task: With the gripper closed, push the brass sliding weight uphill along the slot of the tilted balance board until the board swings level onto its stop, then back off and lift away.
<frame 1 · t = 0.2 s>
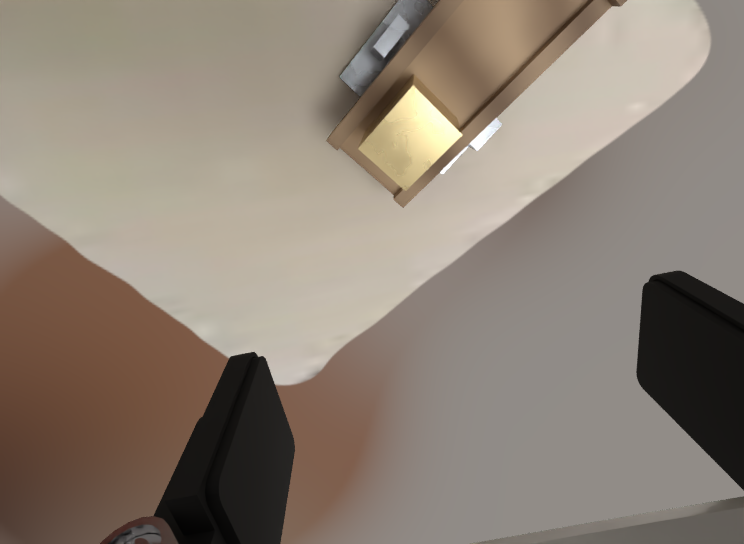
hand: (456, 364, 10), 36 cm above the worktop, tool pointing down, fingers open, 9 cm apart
pivot stand: (426, 87, 41), on the worktop
balance board: (459, 73, 32), point 9 cm above the worktop, hinge at -12.7°, touching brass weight
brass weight: (410, 124, 35), point 8 cm above the worktop, tilted 13°, touching balance board
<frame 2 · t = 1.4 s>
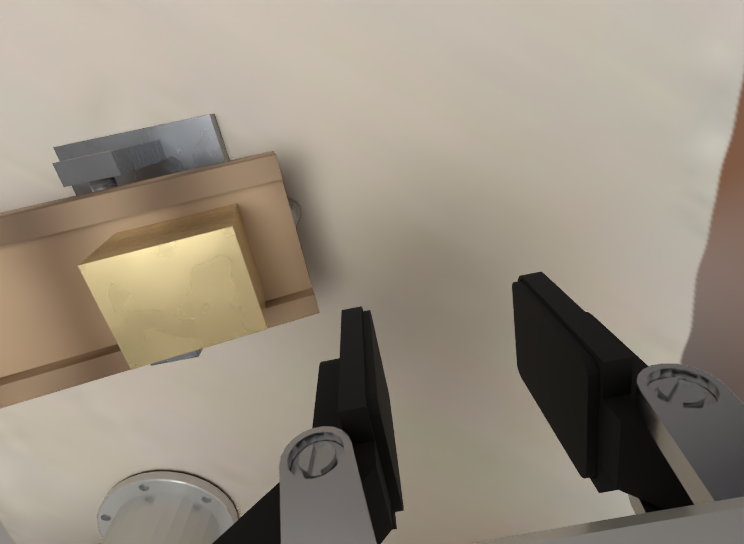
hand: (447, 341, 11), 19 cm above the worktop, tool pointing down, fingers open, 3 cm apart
pivot stand: (179, 232, 29), on the worktop
balance board: (83, 294, 21), point 9 cm above the worktop, hinge at -12.7°, touching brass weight
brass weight: (194, 262, 22), point 8 cm above the worktop, tilted 13°, touching balance board
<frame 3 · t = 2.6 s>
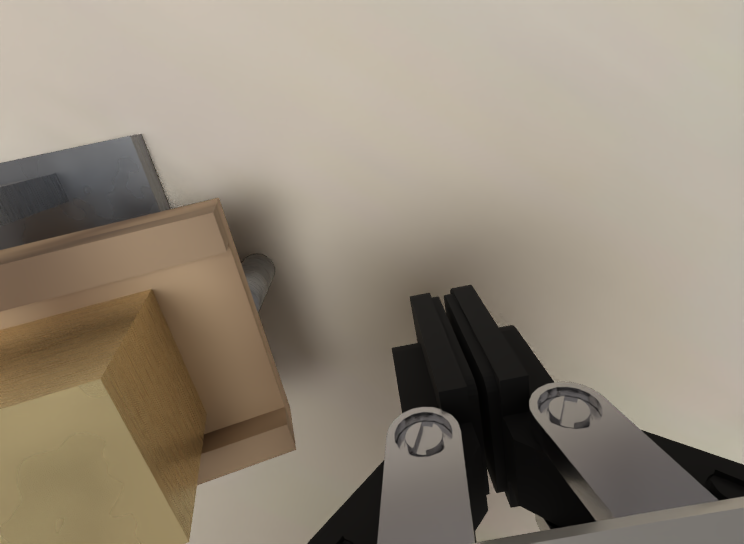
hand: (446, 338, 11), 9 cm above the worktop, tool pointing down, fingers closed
pivot stand: (99, 301, 21), on the worktop
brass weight: (85, 384, 13), point 8 cm above the worktop, tilted 13°, touching balance board
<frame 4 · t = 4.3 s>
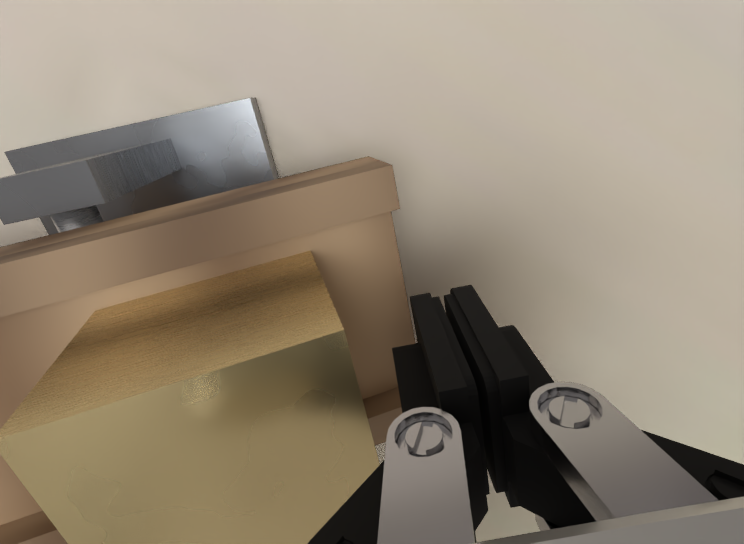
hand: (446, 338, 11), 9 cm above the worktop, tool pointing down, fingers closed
pivot stand: (198, 275, 20), on the worktop
balance board: (38, 422, 11), point 9 cm above the worktop, hinge at -12.7°, touching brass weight
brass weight: (235, 351, 13), point 8 cm above the worktop, tilted 13°, touching balance board, gripper
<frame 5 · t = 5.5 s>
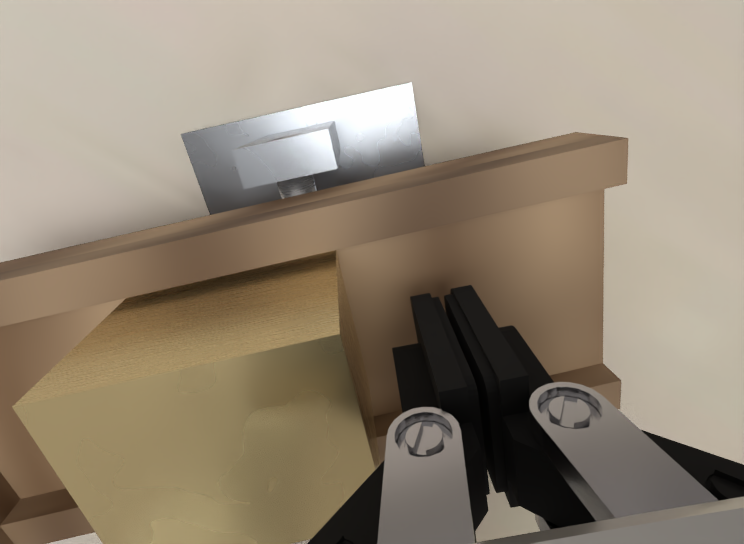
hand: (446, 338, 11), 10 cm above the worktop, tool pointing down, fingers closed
pivot stand: (335, 253, 21), on the worktop
balance board: (267, 365, 13), point 9 cm above the worktop, hinge at -2.6°, touching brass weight
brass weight: (259, 341, 13), point 9 cm above the worktop, touching balance board, gripper
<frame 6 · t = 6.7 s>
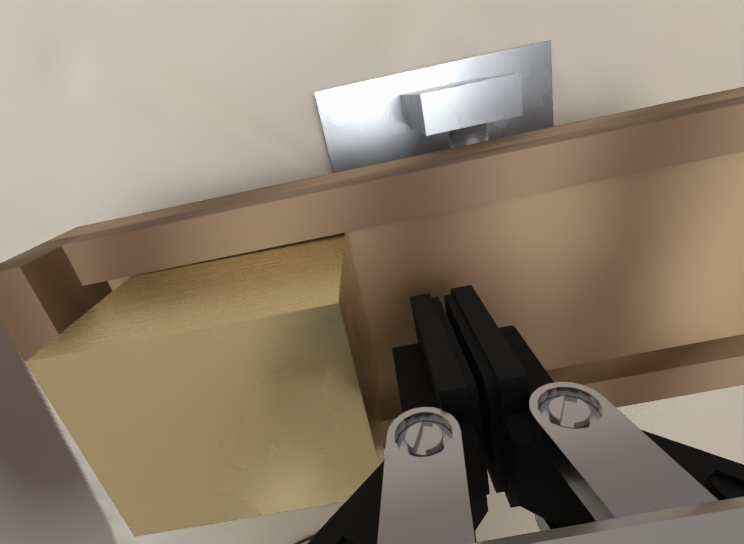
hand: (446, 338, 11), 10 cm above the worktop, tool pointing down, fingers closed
pivot stand: (447, 219, 21), on the worktop
balance board: (444, 312, 13), point 9 cm above the worktop, hinge at 0.8°
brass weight: (269, 316, 13), point 8 cm above the worktop, touching gripper
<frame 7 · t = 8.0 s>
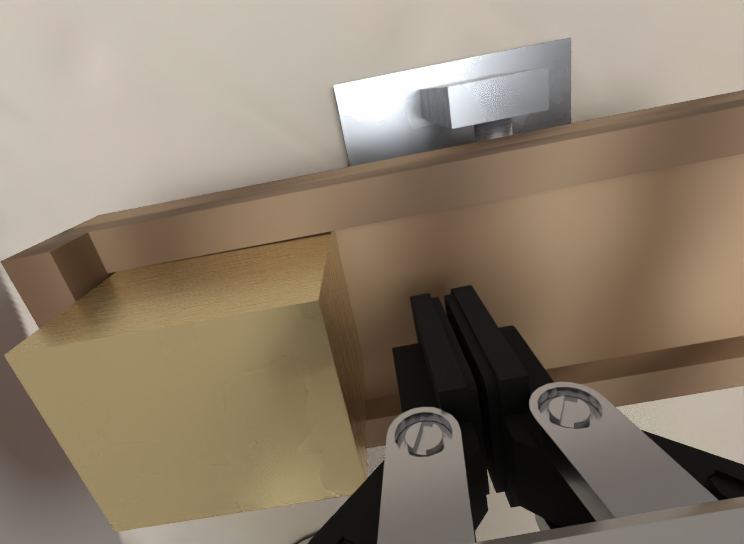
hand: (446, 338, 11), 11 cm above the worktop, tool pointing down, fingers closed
pivot stand: (461, 215, 21), on the worktop
balance board: (467, 306, 13), point 9 cm above the worktop, hinge at 0.8°, touching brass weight
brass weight: (256, 313, 13), point 8 cm above the worktop, touching balance board
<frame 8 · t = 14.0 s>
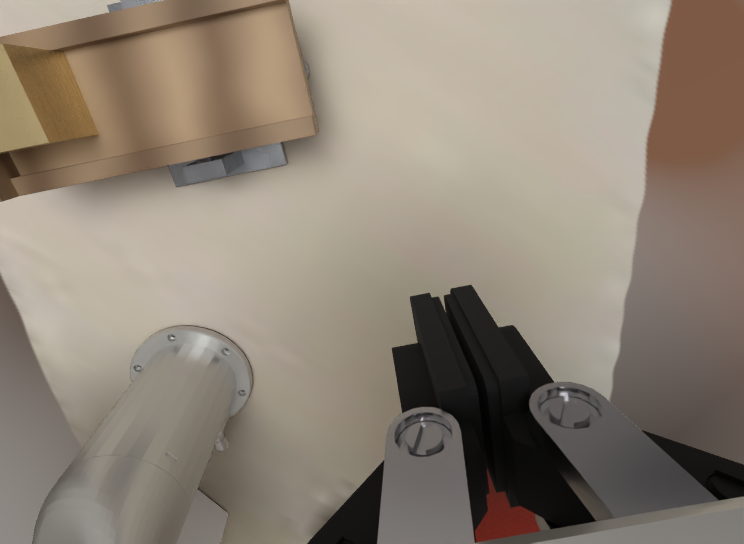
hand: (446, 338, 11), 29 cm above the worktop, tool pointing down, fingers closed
pivot stand: (207, 90, 35), on the worktop
balance board: (132, 96, 27), point 9 cm above the worktop, hinge at 0.8°, touching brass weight
milk carton: (190, 508, 54), on the worktop
plant pot: (481, 467, 54), on the worktop
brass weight: (38, 103, 27), point 8 cm above the worktop, touching balance board
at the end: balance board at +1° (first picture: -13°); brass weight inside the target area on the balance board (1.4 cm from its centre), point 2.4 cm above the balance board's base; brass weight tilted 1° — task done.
